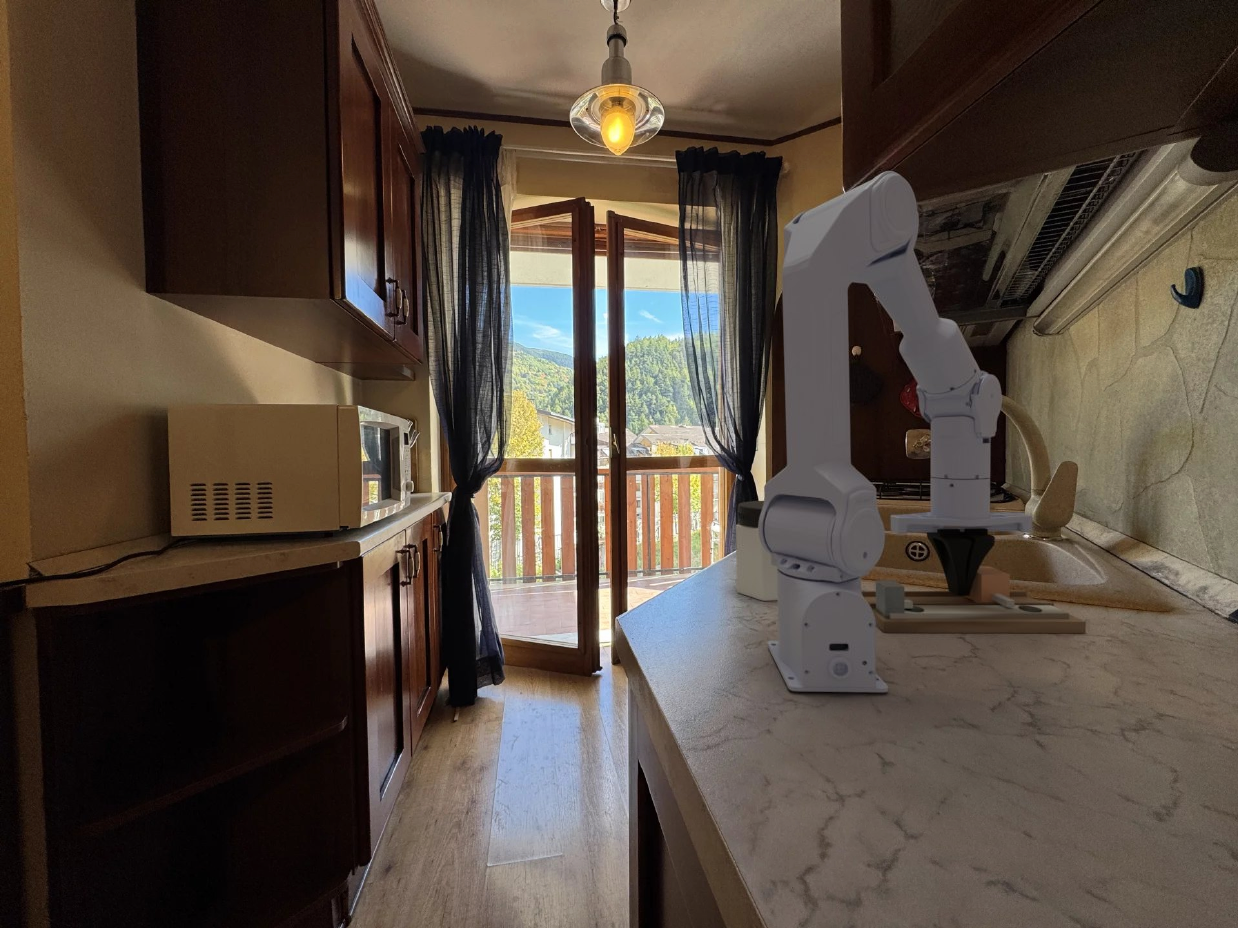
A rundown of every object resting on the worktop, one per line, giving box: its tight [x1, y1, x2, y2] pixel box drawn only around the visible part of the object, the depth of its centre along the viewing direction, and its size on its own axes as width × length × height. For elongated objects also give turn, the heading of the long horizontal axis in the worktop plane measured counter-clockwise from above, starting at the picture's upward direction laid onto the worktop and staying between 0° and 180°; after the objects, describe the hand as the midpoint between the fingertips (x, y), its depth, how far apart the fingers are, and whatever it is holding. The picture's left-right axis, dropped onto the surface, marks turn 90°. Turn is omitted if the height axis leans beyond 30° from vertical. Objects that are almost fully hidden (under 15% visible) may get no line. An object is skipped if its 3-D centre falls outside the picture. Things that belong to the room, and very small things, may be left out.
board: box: [861, 590, 1087, 634], centre depth 57 cm, size 9×20×2 cm, turn 85°
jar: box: [735, 500, 778, 602], centre depth 69 cm, size 9×8×12 cm
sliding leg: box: [965, 565, 1015, 607], centre depth 58 cm, size 6×3×4 cm, turn 175°
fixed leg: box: [875, 579, 913, 619], centre depth 56 cm, size 2×3×4 cm
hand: (958, 593), depth 59 cm, fingers closed
